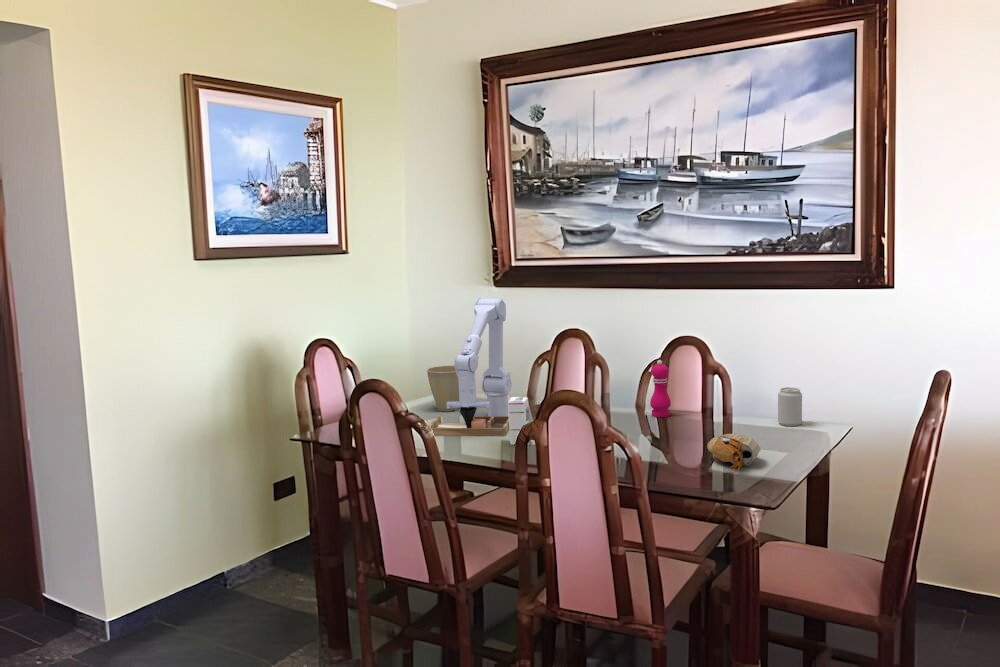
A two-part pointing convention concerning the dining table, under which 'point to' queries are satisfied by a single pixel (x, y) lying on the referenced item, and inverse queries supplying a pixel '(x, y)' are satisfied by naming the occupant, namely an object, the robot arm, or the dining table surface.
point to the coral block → (478, 423)
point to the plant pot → (444, 386)
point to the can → (790, 406)
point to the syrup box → (517, 415)
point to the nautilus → (734, 449)
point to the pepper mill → (660, 391)
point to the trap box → (493, 428)
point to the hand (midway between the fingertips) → (469, 428)
